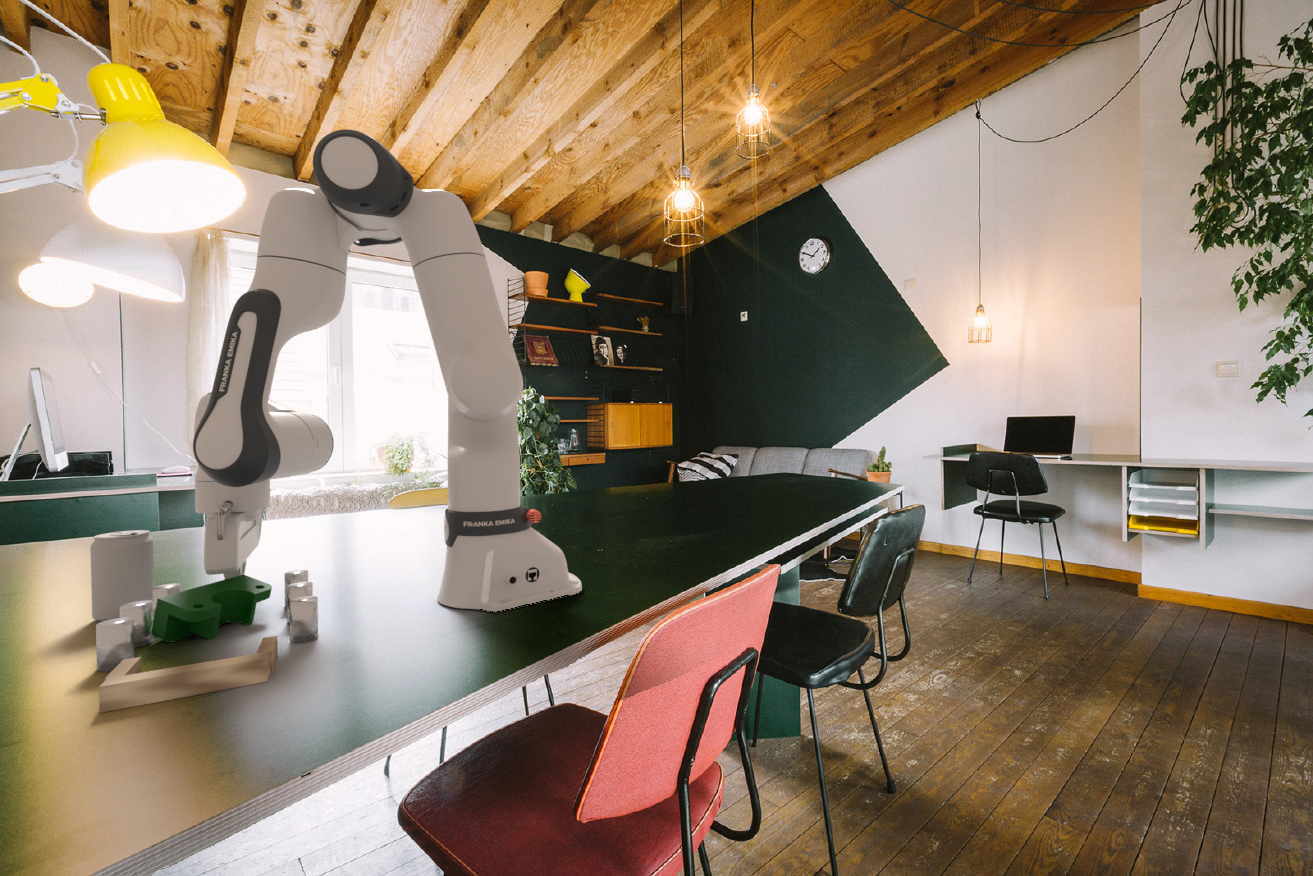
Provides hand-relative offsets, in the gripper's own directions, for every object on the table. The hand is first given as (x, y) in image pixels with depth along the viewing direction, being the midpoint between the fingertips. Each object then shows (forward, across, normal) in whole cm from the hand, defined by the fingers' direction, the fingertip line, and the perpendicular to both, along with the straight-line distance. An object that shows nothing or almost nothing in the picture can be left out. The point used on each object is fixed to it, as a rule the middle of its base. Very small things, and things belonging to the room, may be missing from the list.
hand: (235, 590), depth 81 cm
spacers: (+3, -11, -1) cm, 12 cm away
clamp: (+3, -10, 0) cm, 11 cm away
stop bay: (+3, -28, -1) cm, 28 cm away
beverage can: (+3, +2, +13) cm, 14 cm away
